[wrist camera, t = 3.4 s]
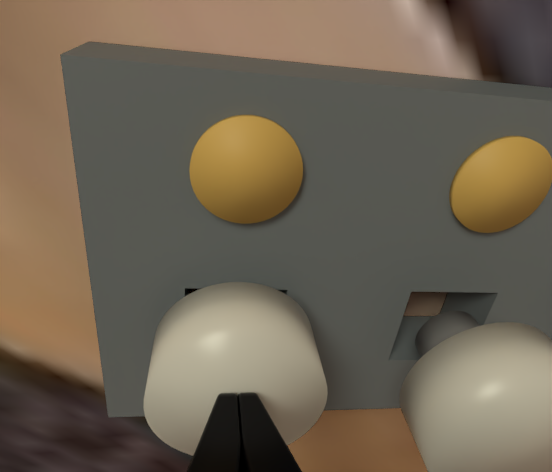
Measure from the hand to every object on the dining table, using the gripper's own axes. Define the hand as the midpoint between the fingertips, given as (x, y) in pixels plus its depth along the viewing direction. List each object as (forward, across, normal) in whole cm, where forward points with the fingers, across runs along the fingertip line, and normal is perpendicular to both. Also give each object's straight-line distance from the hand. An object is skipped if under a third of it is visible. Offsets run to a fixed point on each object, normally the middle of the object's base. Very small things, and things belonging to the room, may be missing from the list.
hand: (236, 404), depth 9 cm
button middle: (+2, -6, 0) cm, 6 cm away
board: (+4, -6, -2) cm, 8 cm away
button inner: (+3, 0, 0) cm, 3 cm away
